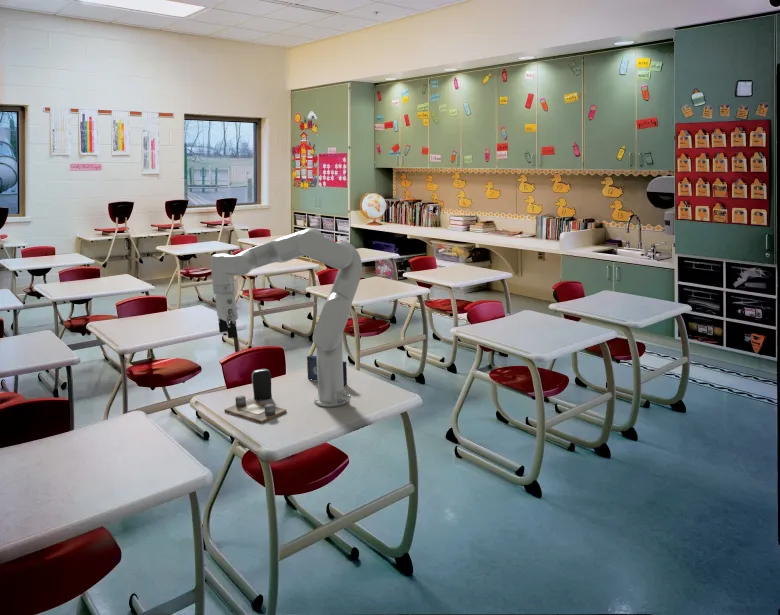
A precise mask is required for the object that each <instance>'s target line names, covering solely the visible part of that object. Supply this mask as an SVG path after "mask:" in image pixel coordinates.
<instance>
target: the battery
mask: <svg viewBox="0 0 780 615" xmlns="http://www.w3.org/2000/svg"><path fill="white" fill-rule="evenodd" d="M251 384H252V390H253V400H254V401H262V400H268V399H272V397H273V393H272V374H271V372H270V370H269V369H267V368H260V369H255V370H253V371H252V372H251Z"/></svg>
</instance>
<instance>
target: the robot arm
mask: <svg viewBox="0 0 780 615" xmlns="http://www.w3.org/2000/svg"><path fill="white" fill-rule="evenodd" d="M304 256H306V257H309V258H310V259H313V260H314V261H318V262H319V263H322V264H324V265H326V266H328V267H331V268H333V269H337V273H336V276H335V278H334V282H333V285H332V286H331V289H330V292H329V295H328V296H327V298H326V300H325V302H324V304H323V306H322V309H321V312H320V315H319V318H318V319H317V322H316V326H315V328H314V330H313V334H312V343H313V345H314V346H315V349H316V351H315V352H316V353H315V356H317V379H318V382H317V393H318V394H317V395H316V396H315V397H314V400H313V401H314V403H315V404H316V405H317V406H320V407H324V408H325V407H327V408H332V407H333V408H334V407H340V406H342V405H344V404H346V403H349V402H350V400H351V398H352V395H351V394H347V389H345V388H344V387H345V386H344V383H343V361H344V360H343V359H344V358H343V334H344V330H345V328H346V325H347V323H348V321H349V318H350V314H351V312H352V305H353V301H354V298H355V296H356V293H357V290H358V287H359V284H360V281H361V277H362V272H363V264H362V263H363V262H362V258H361V255H360V254H359V252H358V250H357V248H356V247H355V246H354V245H353V244H351V243H350V242H349V241H347V240H346V241H345V240H339V241H334V240H332V239H329V238H327V237H325V236H323V233H322V232H321V231H319V229H317V228H313V227H311V228H307V229H303V230H300V231H297V232H294V233H291V234H289V235H285V236H283V237H279V238H277V239H273V240H271V241H269V242H267V243H263V244H260V245H256V246H254V247H252V248H251V247H250V248H249V249H245V250H242V251H240V252H239V253H237V254H235V255H231V254H229V253H216V254H212V255H211V256H210V270H211V281H212V292H213V293H212V294H214V295H215V307H216V315H217V320H218V331H219V333H225V332H227V338H228V339H233V338H237V337H238V331H237V330H238V329H237V320H238V319H239V316H238V315H239V314H238V308H237V301H236V296H235V293H236V288H235V286H236V285H235V277H234V276H245V275H248V274H249V273H250V272H251V271H253V270H254V269H259V268H261V267H263V266H266V265H267V266H268V265H270V264H274V263H280V264H282V263H286V262H289V261H292V260H295V259H297V258H301V257H304Z"/></svg>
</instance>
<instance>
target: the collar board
mask: <svg viewBox="0 0 780 615" xmlns="http://www.w3.org/2000/svg"><path fill="white" fill-rule="evenodd" d="M226 412H227V413H226ZM224 413H226V414H229V413H231V414H230V415H232V414H233V415H232V416H236V417H239V418H243V419H245V418H246V419H245V420H248V419H249V421H252V420H253V421H252V422H255V421H256V423H258V422H259V423H258V424H261V423H262V424H264V423H266V422H268V421H270V420H274V419H275V418H277V417H279V416H282V415H284V414H286V413H287V409H286V408H282V407H278V406H275V404H274V403H264V402H260V401H259V400H257V401H255V400H254V399H250V398H249V399H247V397H246V395H239V396H235V405H233V406H230V407H227V408H225V409H224Z"/></svg>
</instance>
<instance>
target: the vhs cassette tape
mask: <svg viewBox="0 0 780 615" xmlns="http://www.w3.org/2000/svg"><path fill="white" fill-rule="evenodd" d="M306 361H307V363H306V366H307V369H306V370H307V380H308V379H312V380H317V381H318V379H317V356H316V355H313V354H310V355H307V356H306ZM347 370H348V369H347V361H344V360H343V383H344V387H346V386H348V374H347V373H348V372H347ZM312 380H311V381H312ZM317 381H316V382H317ZM345 385H346V386H345Z"/></svg>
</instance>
